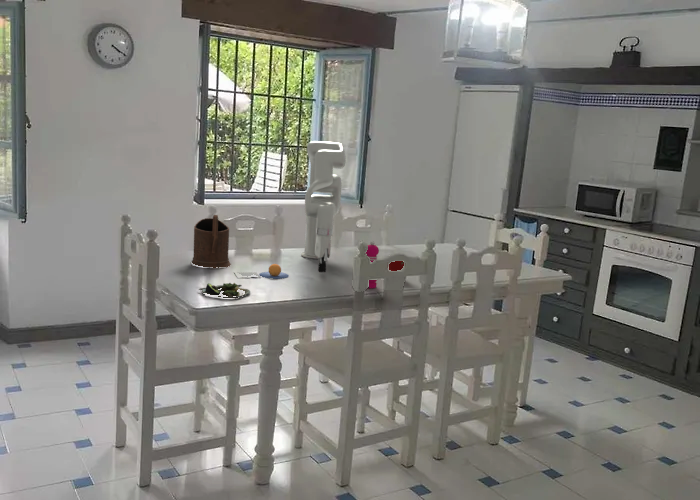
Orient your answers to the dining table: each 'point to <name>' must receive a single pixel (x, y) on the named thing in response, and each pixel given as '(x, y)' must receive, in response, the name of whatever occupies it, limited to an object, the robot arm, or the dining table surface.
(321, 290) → the dining table surface
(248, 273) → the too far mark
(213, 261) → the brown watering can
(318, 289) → the dining table surface
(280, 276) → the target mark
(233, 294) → the salad plate
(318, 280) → the dining table surface
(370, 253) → the pepper mill
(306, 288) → the dining table surface
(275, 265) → the ball
